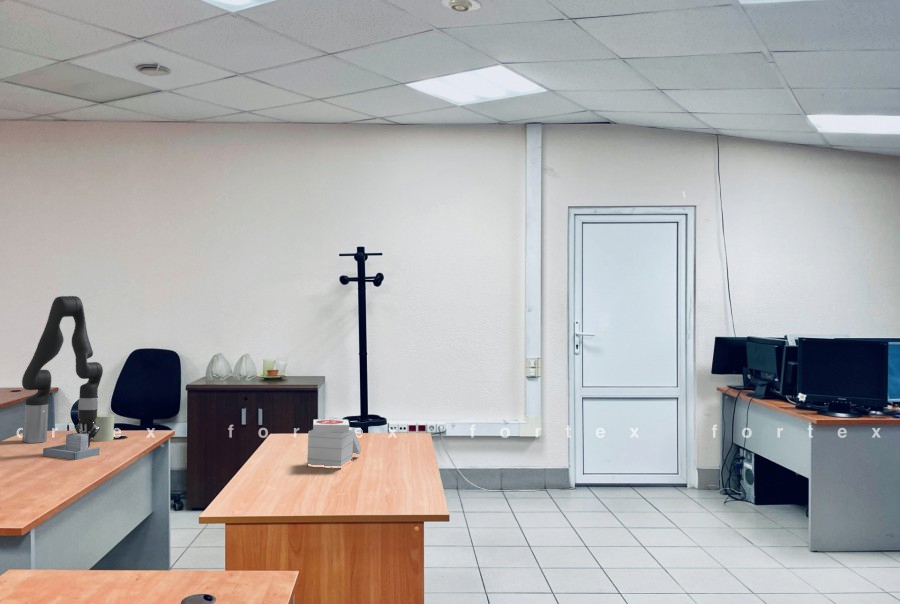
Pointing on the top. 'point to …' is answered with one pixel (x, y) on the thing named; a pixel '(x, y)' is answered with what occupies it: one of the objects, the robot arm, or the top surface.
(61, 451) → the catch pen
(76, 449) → the medicine box
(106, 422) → the can
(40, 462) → the top surface
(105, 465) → the top surface
